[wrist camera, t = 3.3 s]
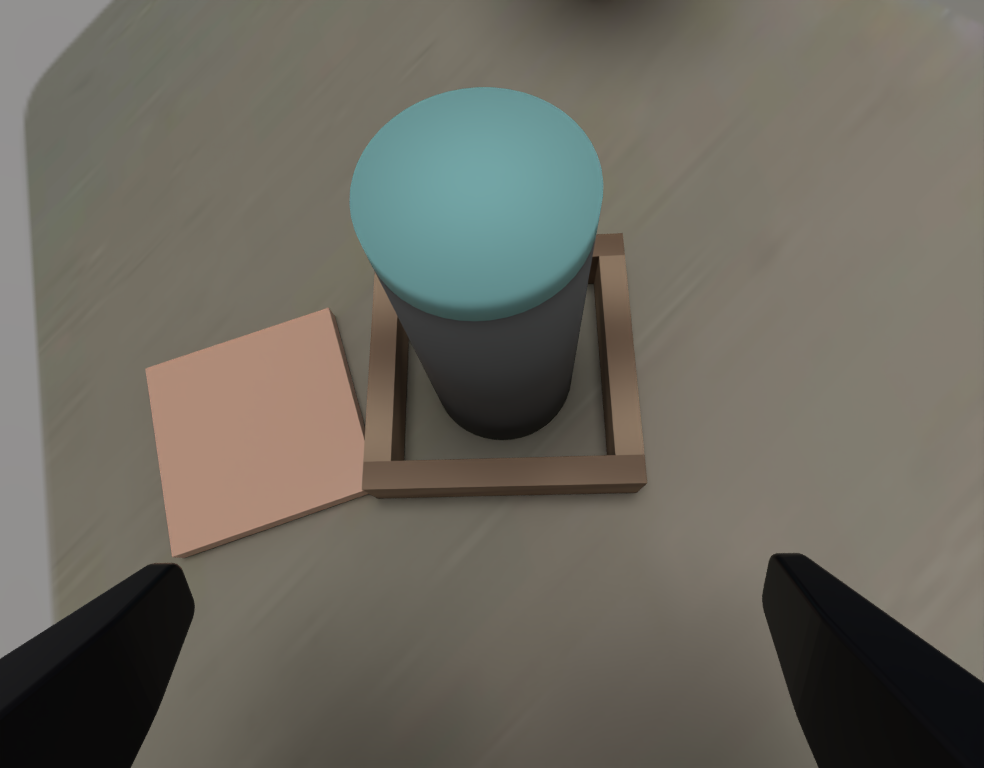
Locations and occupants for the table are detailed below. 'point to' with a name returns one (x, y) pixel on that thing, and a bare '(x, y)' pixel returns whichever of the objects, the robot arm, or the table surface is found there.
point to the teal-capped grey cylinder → (484, 248)
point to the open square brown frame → (510, 475)
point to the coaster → (256, 432)
